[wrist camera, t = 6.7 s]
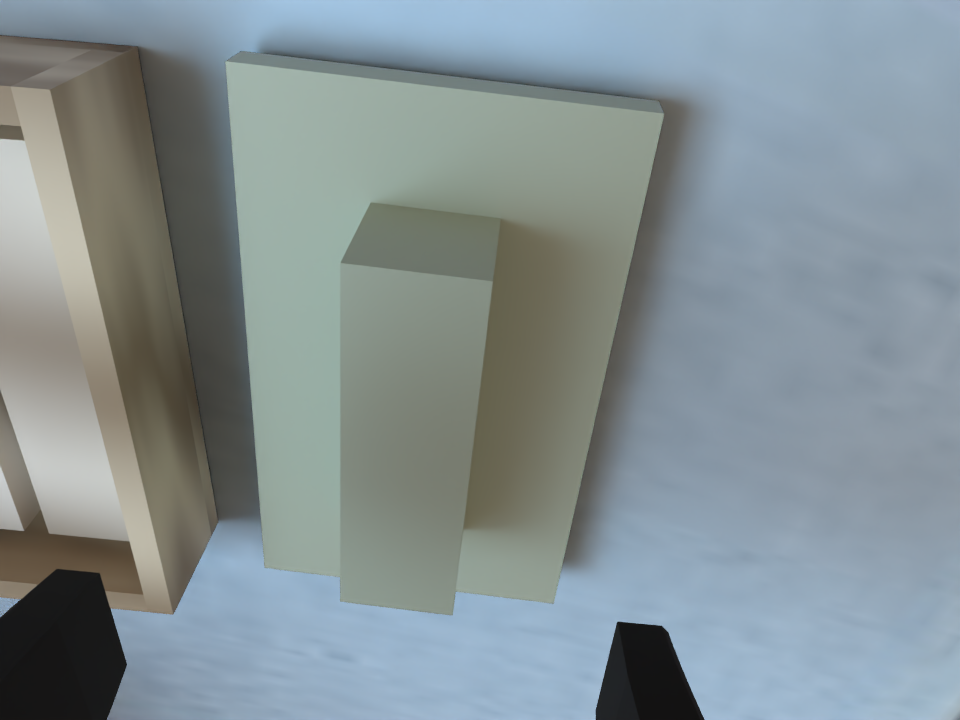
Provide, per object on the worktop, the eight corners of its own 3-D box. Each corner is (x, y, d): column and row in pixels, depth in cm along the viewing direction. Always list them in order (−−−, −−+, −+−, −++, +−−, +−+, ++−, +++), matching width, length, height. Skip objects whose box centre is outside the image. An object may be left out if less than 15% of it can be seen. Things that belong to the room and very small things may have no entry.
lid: (553, 558, 21) (553, 692, 18) (281, 525, 21) (231, 651, 18) (654, 90, 14) (686, 164, 11) (253, 42, 14) (164, 100, 11)
